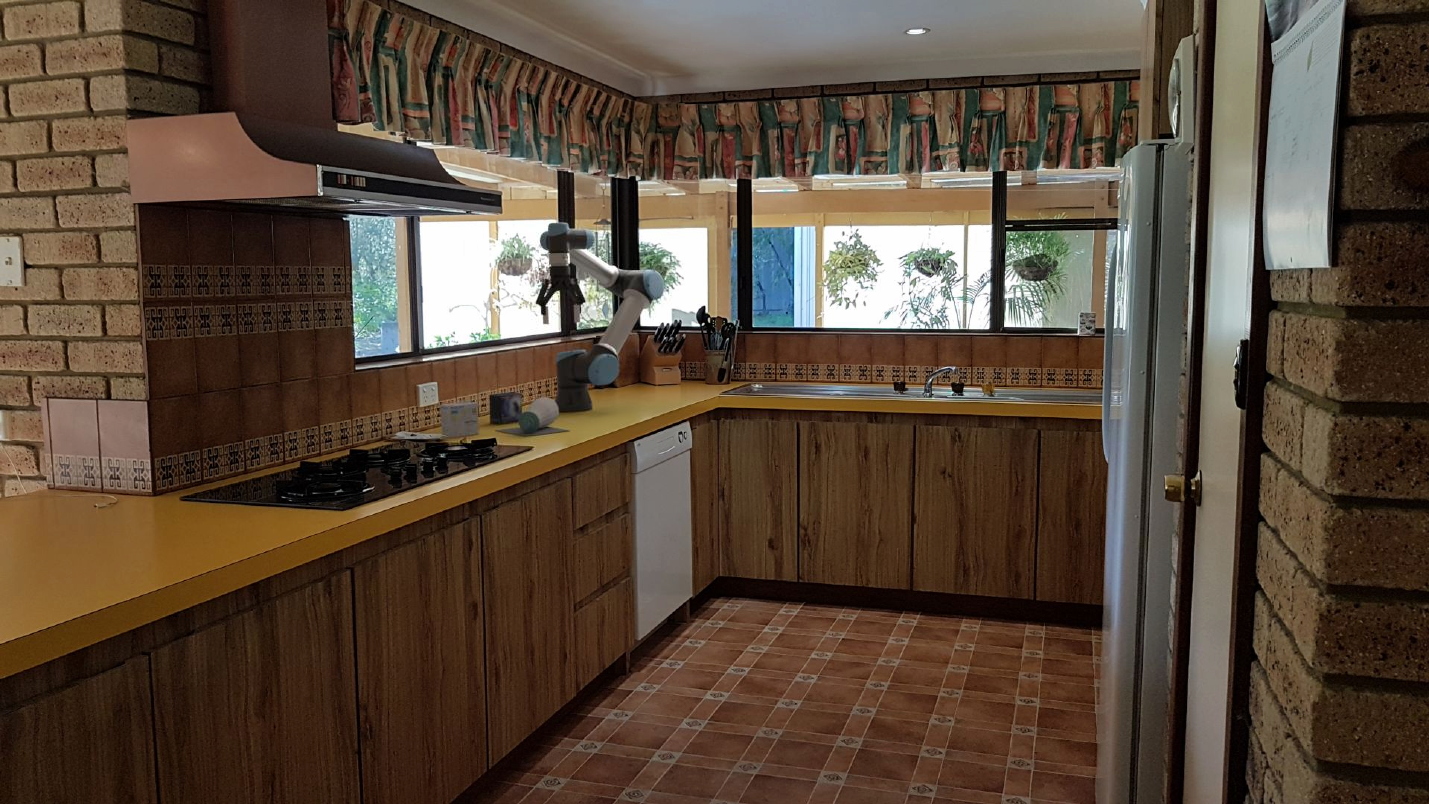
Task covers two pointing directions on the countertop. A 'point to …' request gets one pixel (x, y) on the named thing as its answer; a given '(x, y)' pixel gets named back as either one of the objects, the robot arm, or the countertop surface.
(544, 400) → the soap bottle
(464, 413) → the light bulb box
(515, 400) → the small box
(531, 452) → the countertop surface
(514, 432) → the charcoal mat
